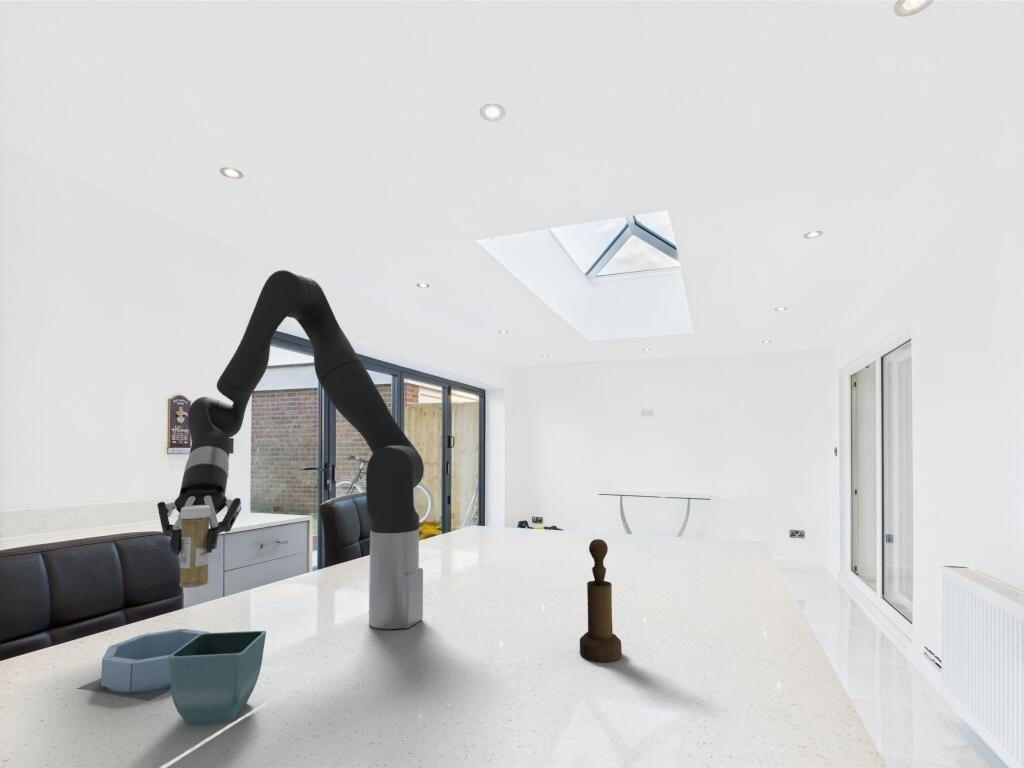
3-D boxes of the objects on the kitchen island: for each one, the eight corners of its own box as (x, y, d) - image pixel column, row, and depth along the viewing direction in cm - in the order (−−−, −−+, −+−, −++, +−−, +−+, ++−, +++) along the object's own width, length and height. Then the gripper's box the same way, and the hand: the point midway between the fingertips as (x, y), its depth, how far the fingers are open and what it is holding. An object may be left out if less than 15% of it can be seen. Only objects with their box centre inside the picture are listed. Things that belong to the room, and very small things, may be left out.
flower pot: (197, 701, 76) (199, 631, 77) (265, 698, 77) (267, 629, 77) (162, 736, 67) (166, 656, 68) (240, 732, 68) (242, 653, 69)
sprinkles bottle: (210, 585, 98) (212, 506, 99) (179, 590, 95) (181, 508, 97) (207, 580, 102) (209, 503, 103) (177, 584, 99) (179, 506, 100)
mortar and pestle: (624, 649, 93) (621, 537, 95) (618, 665, 87) (615, 544, 89) (584, 645, 95) (582, 535, 97) (575, 659, 89) (573, 542, 91)
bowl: (228, 661, 88) (229, 634, 89) (151, 699, 76) (153, 666, 76) (163, 652, 92) (164, 626, 93) (80, 686, 80) (81, 656, 80)
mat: (230, 663, 89) (230, 660, 89) (148, 703, 75) (148, 700, 75) (166, 654, 93) (166, 651, 93) (77, 690, 79) (77, 687, 79)
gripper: (160, 463, 105) (140, 541, 93) (245, 460, 110) (237, 534, 97) (166, 490, 109) (147, 568, 97) (247, 486, 114) (240, 560, 102)
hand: (192, 550), depth 97 cm, fingers closed on sprinkles bottle, 4 cm apart
